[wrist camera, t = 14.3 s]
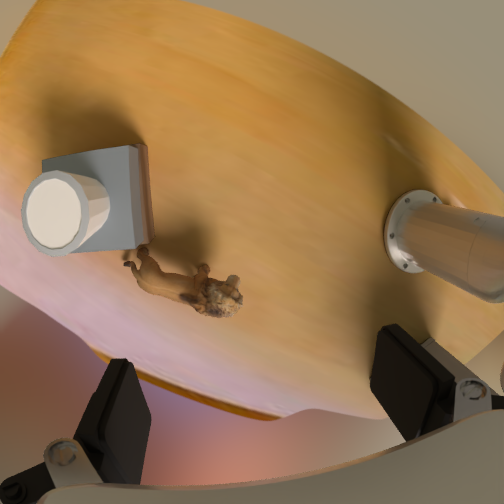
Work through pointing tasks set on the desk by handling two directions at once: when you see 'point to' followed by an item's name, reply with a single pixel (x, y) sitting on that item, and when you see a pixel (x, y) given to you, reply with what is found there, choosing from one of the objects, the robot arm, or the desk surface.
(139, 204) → the top block
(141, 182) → the base block
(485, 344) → the desk surface
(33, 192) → the beige cup
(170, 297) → the lion figurine
